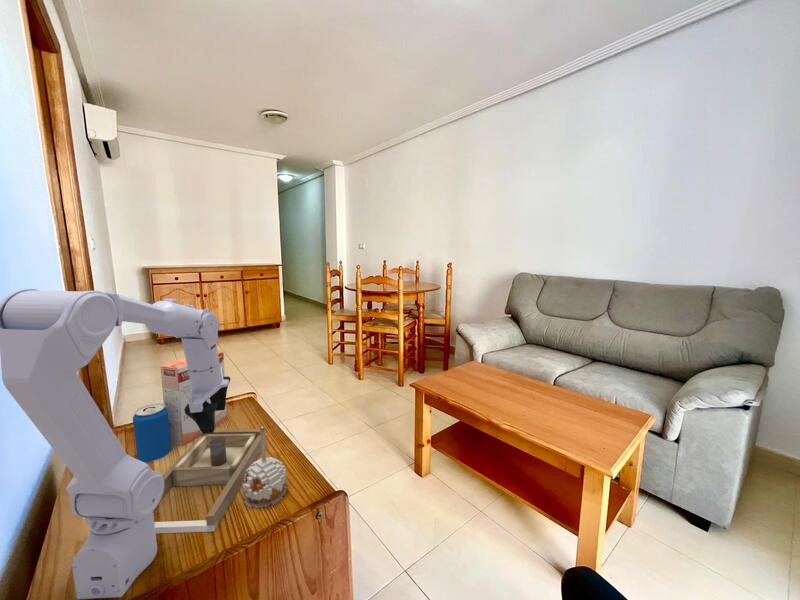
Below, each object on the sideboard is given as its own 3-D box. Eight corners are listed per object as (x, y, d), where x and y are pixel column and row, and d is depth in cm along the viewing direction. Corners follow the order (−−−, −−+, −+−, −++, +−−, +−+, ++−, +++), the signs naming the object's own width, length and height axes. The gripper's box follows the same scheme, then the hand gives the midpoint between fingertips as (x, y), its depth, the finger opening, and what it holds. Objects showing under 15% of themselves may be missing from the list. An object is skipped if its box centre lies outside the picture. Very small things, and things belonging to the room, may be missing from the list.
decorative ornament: (236, 500, 65) (231, 429, 63) (271, 478, 71) (268, 413, 69) (259, 519, 61) (255, 444, 58) (294, 494, 67) (292, 425, 65)
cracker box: (184, 450, 81) (177, 368, 78) (166, 445, 83) (158, 365, 79) (229, 421, 94) (224, 350, 91) (212, 418, 96) (206, 348, 93)
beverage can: (166, 445, 83) (162, 399, 81) (175, 455, 79) (171, 408, 77) (134, 457, 78) (128, 409, 76) (142, 469, 74) (136, 418, 72)
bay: (214, 535, 57) (212, 510, 56) (123, 539, 56) (120, 514, 55) (265, 446, 83) (264, 428, 82) (203, 448, 82) (201, 429, 81)
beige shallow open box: (234, 484, 68) (232, 458, 67) (173, 486, 67) (170, 460, 67) (257, 447, 81) (255, 424, 80) (206, 448, 80) (204, 425, 79)
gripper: (213, 381, 62) (224, 440, 67) (234, 348, 76) (242, 399, 80) (171, 385, 61) (185, 445, 65) (200, 350, 75) (210, 402, 79)
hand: (214, 420), depth 73 cm, fingers open, 7 cm apart
